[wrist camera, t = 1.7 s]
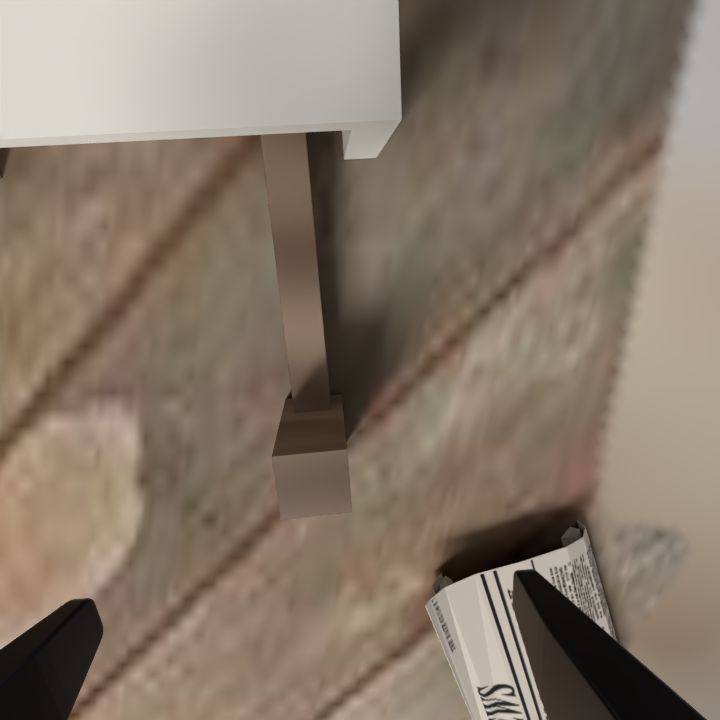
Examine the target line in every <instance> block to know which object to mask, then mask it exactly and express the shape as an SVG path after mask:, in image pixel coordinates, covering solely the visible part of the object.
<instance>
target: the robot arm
mask: <svg viewBox="0 0 720 720" xmlns="http://www.w3.org/2000/svg"><path fill="white" fill-rule="evenodd" d="M513 607H514V612H515V616H516V619H517V622H518V626H519V629H520V632H521V636H522V639H523V643H524V646H525V649H526V653H527V656H528V659H529V663H530V666H531V669H532V673H533V676H534V679H535V683H536V686H537V689H538V692H539V695H540V698H541V701H542V704H543V706H544V709H545V712H546V714H547V717H548V719H549V720H706V719H705V718H704V717H703V716H702V715H701V714H700V713H698V712H697V711H696V710H695V709H694V708H693V707H692V706H690V705H689V704H688V703H687V702H686V701H685V700H683V699H682V698H681V697H680V696H679V695H678V694H677V693H676V692H674V691H673V690H672V689H671V688H670V687H669V686H668V685H666V684H665V683H664V682H663V681H662V680H661V679H660V678H658V677H657V676H656V675H655V674H654V673H653V672H652V671H650V670H649V669H648V668H647V667H646V666H645V665H644V664H642V663H641V662H640V661H639V660H638V659H637V658H636V657H634V656H633V655H632V654H631V653H630V652H629V651H628V650H626V649H625V648H624V647H623V646H622V645H621V644H620V643H618V642H617V641H616V640H615V639H614V638H613V637H612V636H610V635H609V634H608V633H607V632H606V631H605V630H604V629H602V628H601V627H600V626H599V625H598V624H597V623H596V622H594V621H593V620H592V619H591V618H590V617H589V616H588V615H586V614H585V613H584V612H583V611H582V610H581V609H580V608H578V607H577V606H576V605H575V604H574V603H573V602H572V601H570V600H569V599H568V598H567V597H566V596H565V595H564V594H562V593H561V592H560V591H559V590H558V589H557V588H556V587H554V586H553V585H552V584H551V583H550V582H549V581H548V580H546V579H545V578H544V577H543V576H542V575H541V574H540V573H538V572H537V571H536V570H533V569H526V570H516V571H515V572H514V575H513ZM102 635H103V624H102V622H101V619H100V616H99V613H98V611H97V608H96V605H95V603H94V601H93V600H92V599H89V598H85V599H73V600H70V601H68V602H67V603H65V604H64V605H62V606H61V607H60V608H58V609H57V610H55V611H54V612H53V613H51V614H50V615H48V616H47V617H46V618H44V619H43V620H41V621H40V622H39V623H37V624H36V625H34V626H33V627H32V628H30V629H29V630H27V631H26V632H25V633H23V634H22V635H20V636H19V637H18V638H16V639H15V640H13V641H12V642H11V643H9V644H8V645H6V646H5V647H3V648H2V649H1V650H0V720H68V717H69V715H70V713H71V711H72V708H73V706H74V704H75V701H76V699H77V697H78V694H79V692H80V689H81V687H82V685H83V682H84V680H85V677H86V675H87V673H88V670H89V668H90V666H91V663H92V661H93V658H94V656H95V654H96V651H97V649H98V647H99V644H100V642H101V639H102Z"/></svg>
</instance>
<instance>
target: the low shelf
mask: <svg viewBox="0 0 720 720" xmlns="http://www.w3.org/2000/svg"><path fill="white" fill-rule="evenodd" d="M401 120H402V110H401V75H400V40H399V6H398V0H0V148H7V147H27V146H47V145H66V144H86V143H106V142H126V141H145V140H165V139H185V138H205V137H224V136H244V135H264V134H283V133H303V132H323V131H342V140H343V155H344V160H348V159H366V158H377V156H378V155H379V153H380V152H381V150H382V149H383V147H384V146H385V144H386V143H387V141H388V140H389V138H390V137H391V135H392V134H393V132H394V131H395V129H396V128H397V126H398V125H399V123H400V122H401ZM0 179H1V176H0Z"/></svg>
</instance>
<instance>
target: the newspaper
mask: <svg viewBox="0 0 720 720" xmlns="http://www.w3.org/2000/svg"><path fill="white" fill-rule="evenodd" d="M577 523H578V527H579V529H577V528H574V527H569V529H568V530H567V531H566V532H565V533H564V535H563V536H562V537H561V541H562V544H563V548H560V549H557V550H554V551H551V552H548V553H545V554H542V555H539V556H536V557H533V558H530V559H527V560H524V561H520V562H517V563H513V564H509V565H506V566H502V567H498V568H495V569H491V570H488V571H484V572H480V573H477V574H474V575H471V576H469V577H467V578H464V579H462V580H460V581H457V582H455V583H453V580H451V579H449V578H448V577H447V576H445V577H444V578H443V576H442V573H441V574H440V575H439V577H438V578H437V579H436V581H435V582H434V583H433V585H432V589H433V591H434V594H435V595H434V596H433V597H432V598H431V599H429V601H428V602H427V603H426V605H425V606H426V609H427V611H428V614H429V616H430V619H431V621H432V623H433V626H434V628H435V631H436V633H437V635H438V638H439V640H440V643H441V645H442V648H443V650H444V652H445V655H446V657H447V660H448V662H449V664H450V667H451V669H452V672H453V674H454V677H455V679H456V681H457V684H458V686H459V689H460V691H461V693H462V696H463V698H464V701H465V703H466V706H467V708H468V710H469V713H470V715H471V718H472V720H549V719H548V717H547V714H546V712H545V709H544V706H543V704H542V701H541V698H540V695H539V692H538V689H537V686H536V683H535V679H534V676H533V673H532V669H531V666H530V663H529V659H528V656H527V653H526V649H525V646H524V643H523V639H522V636H521V632H520V629H519V626H518V622H517V619H516V616H515V612H514V607H513V575H514V572H515V571H516V570H526V569H533V570H536V571H537V572H538V573H540V574H541V575H542V576H543V577H544V578H545V579H546V580H548V581H549V582H550V583H551V584H552V585H553V586H554V587H556V588H557V589H558V590H559V591H560V592H561V593H562V594H564V595H565V596H566V597H567V598H568V599H569V600H570V601H572V602H573V603H574V604H575V605H576V606H577V607H578V608H580V609H581V610H582V611H583V612H584V613H585V614H586V615H588V616H589V617H590V618H591V619H592V620H593V621H594V622H596V623H597V624H598V625H599V626H600V627H601V628H602V629H604V630H605V631H606V632H607V633H608V634H609V635H610V636H612V637H613V638H614V639H615V640H616V641H617V638H616V635H615V631H614V627H613V624H612V620H611V617H610V613H609V609H608V606H607V602H606V599H605V595H604V591H603V588H602V584H601V580H600V577H599V573H598V570H597V566H596V562H595V559H594V555H593V552H592V548H591V544H590V541H589V537H588V534H587V530H586V527H585V526H584V525H583V524H581V523H580V522H579V521H578V520H577Z"/></svg>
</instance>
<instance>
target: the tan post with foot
mask: <svg viewBox="0 0 720 720" xmlns="http://www.w3.org/2000/svg"><path fill="white" fill-rule="evenodd" d="M260 136H261V145H262V153H263V161H264V169H265V178H266V186H267V194H268V202H269V210H270V219H271V227H272V235H273V243H274V251H275V260H276V268H277V276H278V284H279V292H280V301H281V309H282V317H283V325H284V333H285V342H286V350H287V358H288V366H289V374H290V383H291V391H292V398H290V399H286V400H285V404H284V408H283V412H282V416H281V421H280V425H279V429H278V433H277V437H276V441H275V446H274V450H273V454H272V461H273V468H274V475H275V482H276V489H277V496H278V503H279V510H280V517H281V520H285V519H294V518H303V517H312V516H322V515H331V514H340V513H350V512H352V503H351V491H350V479H349V467H348V454H347V444H346V434H345V424H344V415H343V405H342V396H341V394H335V395H330V386H329V375H328V365H327V354H326V343H325V332H324V321H323V310H322V299H321V288H320V277H319V266H318V255H317V245H316V234H315V223H314V212H313V201H312V190H311V179H310V168H309V157H308V146H307V135H306V132H303V133H283V134H264V135H260Z"/></svg>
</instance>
